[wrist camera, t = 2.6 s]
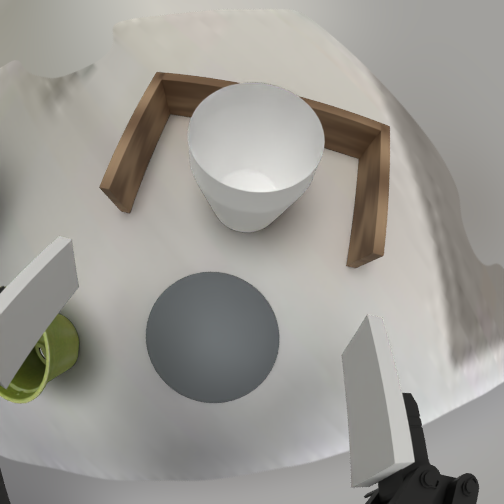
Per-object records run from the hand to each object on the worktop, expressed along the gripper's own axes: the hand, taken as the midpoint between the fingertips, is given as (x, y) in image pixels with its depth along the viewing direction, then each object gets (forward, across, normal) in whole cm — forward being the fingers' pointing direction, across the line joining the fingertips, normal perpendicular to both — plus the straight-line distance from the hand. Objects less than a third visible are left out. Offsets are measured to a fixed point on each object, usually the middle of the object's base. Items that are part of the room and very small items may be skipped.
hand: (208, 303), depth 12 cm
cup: (+19, 0, -3) cm, 19 cm away
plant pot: (+5, -16, -17) cm, 23 cm away
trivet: (+9, 0, -13) cm, 15 cm away
